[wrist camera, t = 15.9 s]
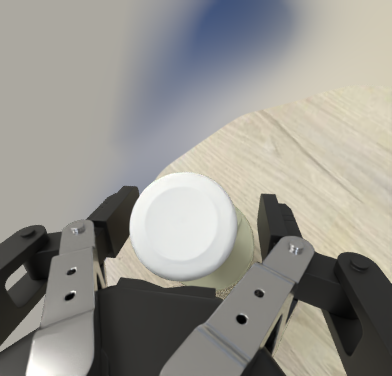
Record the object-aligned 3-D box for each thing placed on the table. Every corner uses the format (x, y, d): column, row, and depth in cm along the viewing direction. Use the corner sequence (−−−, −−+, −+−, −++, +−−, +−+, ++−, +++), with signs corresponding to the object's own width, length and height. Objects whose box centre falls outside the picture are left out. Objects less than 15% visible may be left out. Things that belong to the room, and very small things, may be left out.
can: (258, 253, 32) (277, 250, 21) (207, 295, 31) (198, 316, 20) (217, 204, 35) (213, 178, 24) (169, 242, 34) (142, 233, 23)
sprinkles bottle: (201, 210, 23) (172, 149, 10) (239, 238, 22) (262, 208, 9) (173, 248, 22) (103, 234, 9) (211, 279, 21) (191, 311, 8)
